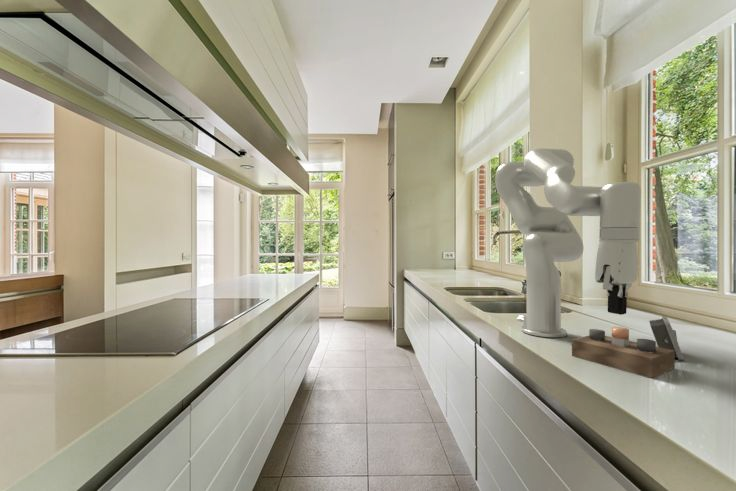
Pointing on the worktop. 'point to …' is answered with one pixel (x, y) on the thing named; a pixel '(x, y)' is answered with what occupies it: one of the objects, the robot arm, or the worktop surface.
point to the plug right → (646, 345)
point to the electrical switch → (666, 336)
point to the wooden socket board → (624, 356)
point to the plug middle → (620, 336)
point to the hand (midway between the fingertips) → (616, 312)
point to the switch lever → (597, 335)
